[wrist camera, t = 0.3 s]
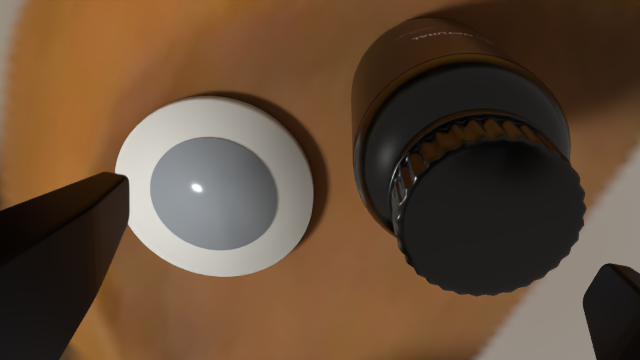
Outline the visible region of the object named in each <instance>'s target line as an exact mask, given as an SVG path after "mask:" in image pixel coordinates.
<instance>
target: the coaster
mask: <svg viewBox="0 0 640 360" xmlns="http://www.w3.org/2000/svg"><path fill="white" fill-rule="evenodd" d="M115 173H116V174H122V175H126V176H127V177H128V179H129V189H130V215H129V221H128V225H129V226H130V228H131V229H132V230H133V232H134V233H135V234H136V236H137V237H138V238H139V239H140V240H141V241H142V242H143V243H144V244H145V245H146V246H147V247H148V248H149V249H150V250H151V251H153V252H154V253H156V254H157V255H158V256H160V257H161V258H163V259H164V260H166V261H168V262H170V263H171V264H173V265H176V266H178V267H180V268H183V269H185V270H188V271H191V272H194V273H199V274H204V275H209V276H221V277H231V276H240V275H246V274H250V273H254V272H257V271H260V270H263V269H265V268H267V267H269V266H271V265H273V264H275V263H276V262H278V261H279V260H281V259H282V258H284V257H285V256H286V255H287V254H288V253H290V252H291V251H292V250H293V248H294V247H295V246H296V245H297V244H298V243H299V241H300V240H301V238H302V236H303V235H304V233H305V231H306V229H307V226H308V224H309V221H310V217H311V214H312V207H313V197H314V185H313V178H312V172H311V169H310V166H309V163H308V160H307V158H306V156H305V154H304V152H303V150H302V148H301V146H300V145H299V143H298V142H297V140H296V139H295V138H294V136H293V135H292V134H291V133H290V132H289V131H288V130H287V128H285V127H284V126H283V125H282V124H281V123H280V122H279V121H278V120H276V119H275V118H274V117H272V116H271V115H269V114H268V113H266V112H265V111H263V110H261V109H259V108H257V107H255V106H253V105H251V104H248V103H245V102H243V101H240V100H236V99H232V98H228V97H220V96H194V97H187V98H183V99H179V100H176V101H173V102H170V103H168V104H166V105H164V106H162V107H160V108H158V109H157V110H155V111H154V112H152V113H151V114H150V115H148V116H147V117H146V118H145V119H144V120H143V121H142V122H140V123H139V124H138V125H137V126H136V127H135V129H134V130H133V131H132V132H131V133H130V135H129V136H128V137H127V139H126V141H125V142H124V144H123V146H122V148H121V151H120V153H119V156H118V159H117V164H116V168H115Z"/></svg>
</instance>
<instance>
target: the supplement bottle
mask: <svg viewBox="0 0 640 360" xmlns="http://www.w3.org/2000/svg"><path fill="white" fill-rule="evenodd" d="M351 110H352V145H353V168H354V175H355V180H356V185H357V189H358V191H359V194H360V197H361V199H362V201H363V203H364V205H365V207H366V208H367V210H368V211H369V213H370V214H371V216H372V217H373V218H374V219H375V221H376V222H377V223H378V224H379V225H380V226H381V227H382V228H384V229H385V230H386V231H387V232H388V233H390V234H391V235H392V236H394V237H395V238H397V242H398V247H399V249H400V251H401V252H402V253H403V254H405V259H406V262H407V263H408V264H409V265H411V266H412V267H414V269H415V271H416V273H417V274H418V275H420V276H423V277H425V278H426V279H427V281H428V282H429V283H430V284H434V285H438V286H439V287H441V288H442V289H443V290H446V291H454V292H456V293H458V294H460V295H461V294H470V295H473V296H481V295H485V294H486V295H492V296H495V295H497V294H499V293H502V292H506V293H508V292H513V291H514V290H516V289H517V288H520V287H526V286H528V285H530V284H531V283H532V282H533V281H534V280H538V279H541V278H543V277H544V276H545V275H546V274H547V273H548V272H549V271H550V270H552V269H554V268H556V267H557V266H558V265H559V263H560V261H561V260H562V259H563V258H565V257H566V256H568V255H569V253H570V250H571V247H572V246H573V245H574V244H575V243H576V242H577V241H578V238H579V231H580V230H581V229H582V227H583V226H584V220H583V216H584V213H585V211H586V209H587V208H586V206H585V204H584V202H583V200H584V197H585V191H584V189H583V188H582V187H581V185H580V177H579V175H578V173H577V172H576V171H575V170H574V169H573V168H572V166H571V163H570V152H571V142H570V132H569V127H568V123H567V120H566V117H565V114H564V112H563V110H562V107H561V106H560V104H559V102H558V100H557V99H556V97H555V96H554V95H553V93H552V92H551V91H550V90H549V89H548V87H547V86H546V85H545V84H544V83H543V82H542V81H541V80H540V79H539V78H538V77H536V76H535V75H534V74H533V73H532V72H530V71H529V70H528V69H526V68H525V67H524V66H522V65H521V64H520V63H518V62H517V61H516V60H514V59H513V58H512V57H510V56H509V55H508V54H506V53H505V52H504V51H502V50H501V49H500V48H498V47H497V46H496V45H494V44H493V43H492V42H490V41H489V40H488V39H486V38H485V37H484V36H482V35H481V34H479V33H478V32H476V31H475V30H473V29H472V28H470V27H468V26H466V25H464V24H462V23H459V22H457V21H454V20H450V19H445V18H436V17H428V18H419V19H414V20H410V21H407V22H404V23H401V24H399V25H397V26H395V27H393V28H392V29H390V30H388V31H387V32H385V33H384V34H383V35H381V36H380V37H379V38H378V39H377V40H376V41H375V42H374V43H373V44H372V45H371V46H370V47H369V48H368V50H367V51H366V52H365V54H364V56H363V57H362V59H361V61H360V63H359V65H358V67H357V70H356V72H355V76H354V79H353V85H352V94H351Z"/></svg>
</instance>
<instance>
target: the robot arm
mask: <svg viewBox="0 0 640 360" xmlns="http://www.w3.org/2000/svg"><path fill="white" fill-rule="evenodd" d="M129 215H130V189H129V179H128V177H127V176H126V175H122V174H116V173H111V172H102V173H99V174H96V175H94V176H91V177H88V178H86V179H83V180H81V181H78V182H75V183H73V184H70V185H67V186H65V187H62V188H59V189H57V190H54V191H51V192H49V193H46V194H43V195H41V196H38V197H35V198H33V199H30V200H27V201H25V202H22V203H19V204H17V205H14V206H12V207H9V208H6V209H4V210H1V211H0V360H59V359H60V357H61V356H62V354H63V352H64V350H65V349H66V347H67V345H68V344H69V342H70V340H71V339H72V337H73V335H74V333H75V332H76V330H77V328H78V327H79V325H80V323H81V322H82V320H83V318H84V316H85V315H86V313H87V311H88V310H89V308H90V306H91V304H92V303H93V301H94V299H95V297H96V295H97V293H98V291H99V289H100V287H101V285H102V283H103V280H104V278H105V276H106V273H107V271H108V269H109V266H110V264H111V262H112V259H113V257H114V255H115V253H116V250H117V248H118V246H119V243H120V241H121V239H122V236H123V234H124V232H125V229H126V227H127V224H128V221H129ZM583 309H584V312H585V316H586V320H587V324H588V328H589V332H590V336H591V340H592V343H593V348H594V352H595V355H596V359H597V360H640V273H638V272H636V271H635V270H633V269H632V268H630V267H627V266H623V265H617V264H610V263H609V264H605V265H603V266H602V267H601V268H600V270H599V272H598V273H597V275H596V276H595V278H594V280H593V281H592V283H591V284H590V286H589V288H588V289H587V291H586V293H585V295H584V298H583Z"/></svg>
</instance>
